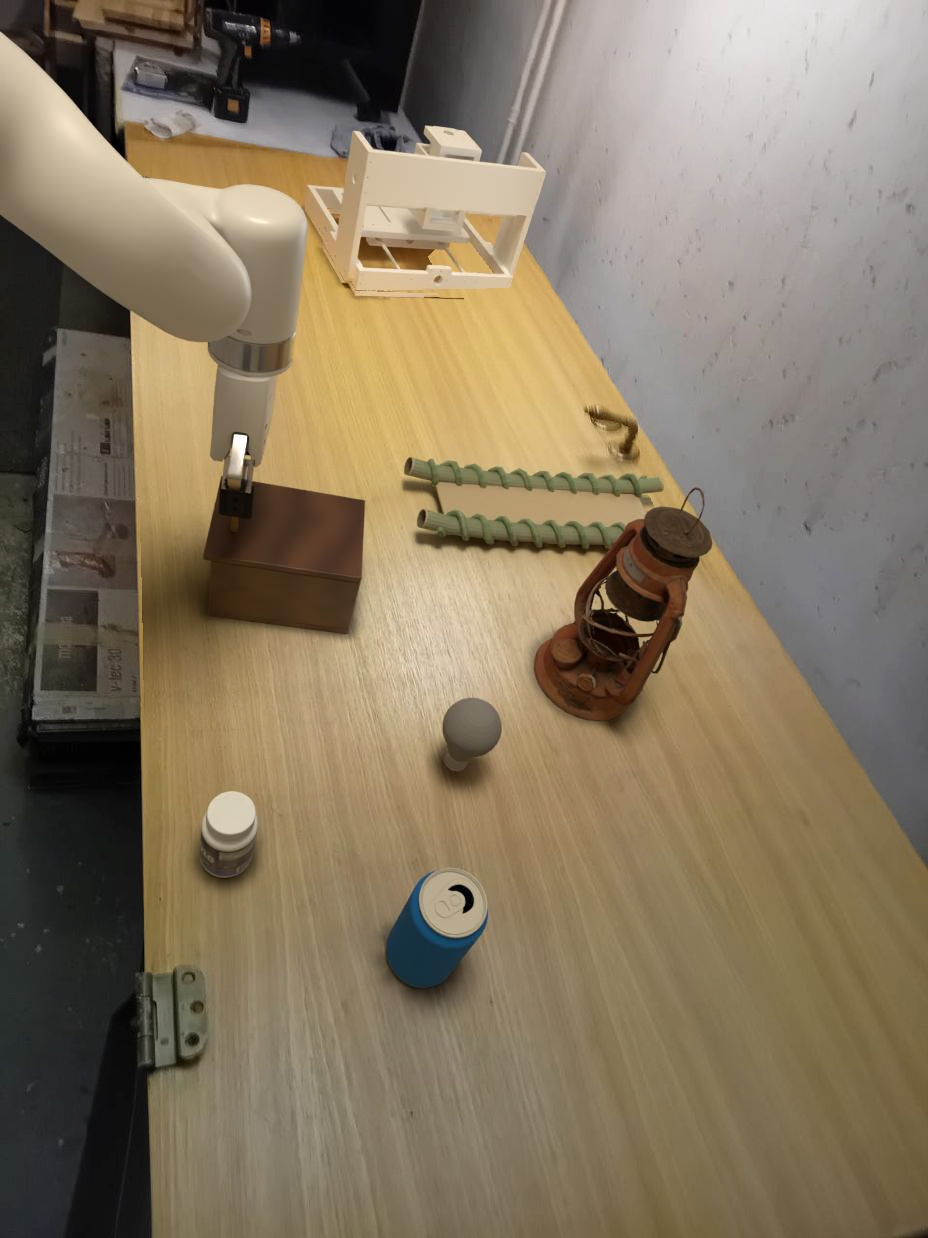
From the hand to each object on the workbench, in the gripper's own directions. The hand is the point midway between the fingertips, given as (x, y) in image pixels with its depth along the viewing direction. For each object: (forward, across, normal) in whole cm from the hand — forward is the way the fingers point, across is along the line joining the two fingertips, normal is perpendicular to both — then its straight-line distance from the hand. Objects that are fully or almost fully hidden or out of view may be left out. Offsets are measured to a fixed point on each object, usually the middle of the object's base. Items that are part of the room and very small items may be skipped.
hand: (241, 483), depth 85 cm
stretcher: (+15, -20, +40) cm, 47 cm away
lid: (+6, 0, +5) cm, 8 cm away
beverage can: (+14, +42, +22) cm, 50 cm away
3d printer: (+15, -91, +20) cm, 94 cm away
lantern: (+15, +8, +43) cm, 46 cm away
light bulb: (+15, +22, +26) cm, 37 cm away
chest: (+14, 0, +6) cm, 16 cm away
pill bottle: (+14, +34, +4) cm, 37 cm away
